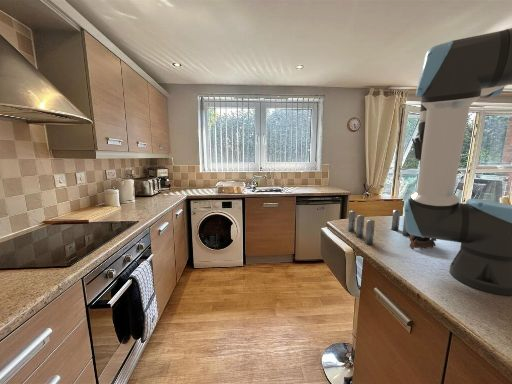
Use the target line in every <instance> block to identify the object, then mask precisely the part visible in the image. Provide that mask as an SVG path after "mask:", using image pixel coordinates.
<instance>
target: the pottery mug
mask: <svg viewBox="0 0 512 384" xmlns="http://www.w3.org/2000/svg"><path fill="white" fill-rule="evenodd" d="M406 233H407V235H408V238H409V241H410V244H409V247H410V248H411V249H412V250H414V249H427V248H434V247H436V246H437V245H436V243H435V242H436V241H438V239H432V238H426V237H424V238H422V237H420V236H414V235H410V234H409V233H408V232H407V231H406Z"/></svg>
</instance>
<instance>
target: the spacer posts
mask: <svg viewBox="0 0 512 384" xmlns="http://www.w3.org/2000/svg"><path fill="white" fill-rule="evenodd" d="M356 215H357V216H356ZM403 216H404V217H403V227H402V228H403V229H402V236H403V237H408V235H407V233H406V225H405V214H404V215H403ZM400 220H401V210H400V209H393V210H392V218H391V228H390V229H391V231H395V232H398V231H399V228H400ZM375 223H376V220H374V219H366V225H365V215H364V214H356V210H348V223H347V224H348V226H347V231H348V232H350V233H354V232H355V237H356V238H358V239H362V238H363V239H364V232H365V240H364V241H365V242H364V244H365V245H368V246H373V245H374V239H375V238H374V236H375ZM365 226H366V227H365ZM355 227H356V228H355ZM364 229H365V231H364ZM408 238H409V237H408Z"/></svg>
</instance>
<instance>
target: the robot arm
mask: <svg viewBox="0 0 512 384" xmlns="http://www.w3.org/2000/svg"><path fill="white" fill-rule="evenodd" d="M507 86H512V27H510V28H506V29H504V30H503V29H502V30H499V31H493V32H489V33H484V34H480V35H474V36H469V37H465V38H459V39H454V40H450V41H447V42H444V43H440V44H437V45H433V46H431V47H430V48H429V49H428V50H427V51H426V53H425V55H424V58H423V62H422V67H421V70H420V73H419V78H418V81H417V87H416V91H415V97H416V98H421V99H420V110H419V117H418V119H419V120H418V121H419V123H418V127H417V128H418V129H417V131H418V133H417V136H415V137H412V139H411V142H412V143H413V148H414V156H415V159H416V160H418V161H419V171H418V180H417V188H416V190H414V191H413V192H411V193H410V196H409V197H410V198H405V199H404V201H403V202H404V215H405V225H406V231H407V232H408V233H409V234H410V235H414V236H420V237H422V238H424V237H426V238H430V239H431V238H432V239H436V240H440V241H447V242H453V243H455V242H456V243H460V248H459V250H458V252H457V254H456V255H455V257H454V259H453V260H452V261H451V263H450V265H449V274H450V275H451V276H452V277H453V278H454V279H456V281H458V282H461V283H463V284H465V285H467V286H469V287H472V288H474V289H477V290H480V291H484V292H487V293H492V294H495V295H496V294H497V295H501V296H510V297H512V205H511V204H508V203H503V202H498V201H492V200H487V199H482V198H481V199H480V198H467V200H466V201H465V203H462V202H461V203H460V197H459V196H457V195H456V194H455V187H456V183H457V177H458V171H459V165H460V160H461V155H462V150H463V145H464V141H465V140H464V139H465V135H466V134H465V133H466V129H467V124H468V119H469V111H470V107H471V106H472V105H473V103H475V102H476V101H477V100H479V99H483V98H484V99H485V98H486V99H487V98H492V97H497V96H500V95H501V94H502V92H503V91H504V89H505V88H506V87H507Z"/></svg>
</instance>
